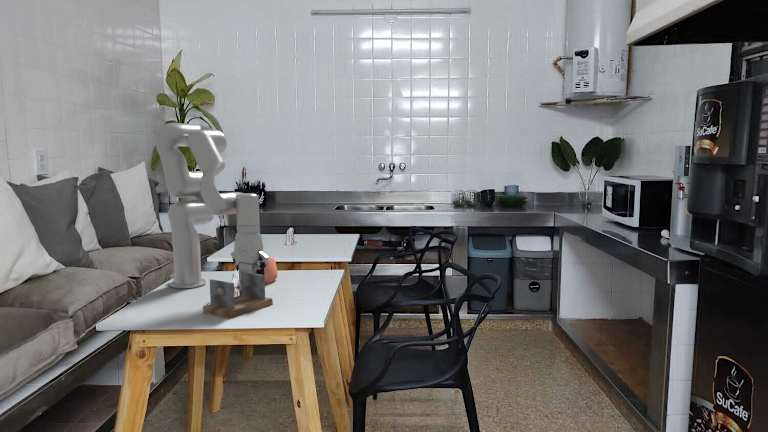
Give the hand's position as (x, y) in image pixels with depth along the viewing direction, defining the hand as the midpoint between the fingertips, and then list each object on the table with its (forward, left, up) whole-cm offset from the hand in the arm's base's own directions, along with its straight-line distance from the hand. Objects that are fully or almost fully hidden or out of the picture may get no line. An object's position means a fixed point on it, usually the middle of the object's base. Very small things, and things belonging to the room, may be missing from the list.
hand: (250, 278), depth 198 cm
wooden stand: (+9, -14, -6) cm, 18 cm away
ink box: (0, 0, -6) cm, 6 cm away
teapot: (-12, +16, -6) cm, 21 cm away
